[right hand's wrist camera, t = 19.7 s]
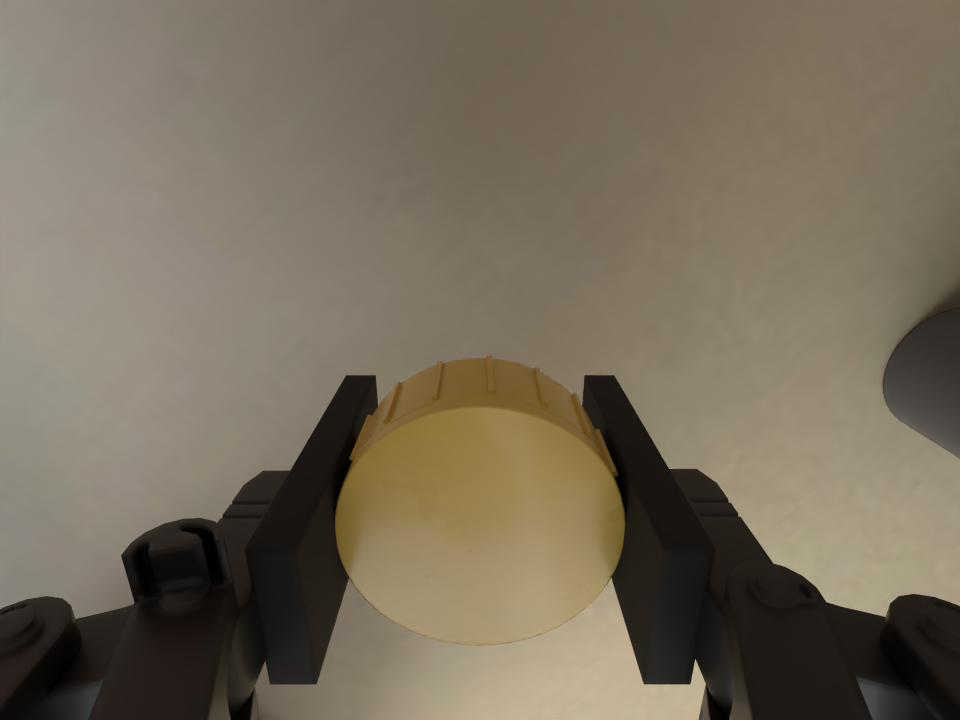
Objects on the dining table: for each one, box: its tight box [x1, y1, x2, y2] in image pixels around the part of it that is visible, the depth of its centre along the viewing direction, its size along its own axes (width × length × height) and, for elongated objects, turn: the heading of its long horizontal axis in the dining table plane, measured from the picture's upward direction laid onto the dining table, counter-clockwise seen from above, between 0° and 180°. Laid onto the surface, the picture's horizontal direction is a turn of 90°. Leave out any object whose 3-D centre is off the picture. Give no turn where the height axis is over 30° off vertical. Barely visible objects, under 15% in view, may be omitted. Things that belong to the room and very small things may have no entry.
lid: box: [335, 356, 626, 645], centre depth 11 cm, size 6×6×2 cm
